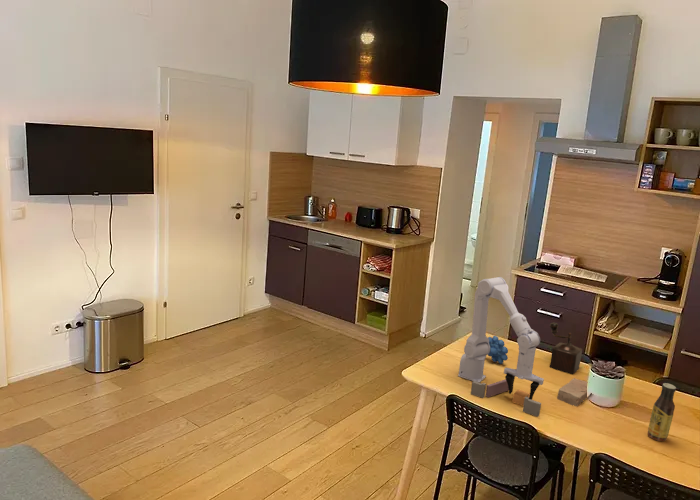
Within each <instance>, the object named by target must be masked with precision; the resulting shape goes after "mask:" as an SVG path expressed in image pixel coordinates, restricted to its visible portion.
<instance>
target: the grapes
mask: <svg viewBox="0 0 700 500" xmlns="http://www.w3.org/2000/svg"><path fill="white" fill-rule="evenodd" d="M487 338H488V339H489V345H490V352H489V354H487V355H486V356H488V357H491V361H492V362H493V363H498V364H499V365H502V364H504V361H508V359H509V358H508V355H507V354H508V352H509V349H508V347H507V346H505V341H504V340H503V339H499V337H498V336H497V335H493V336H487Z"/></svg>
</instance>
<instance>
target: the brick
mask: <svg viewBox="0 0 700 500" xmlns="http://www.w3.org/2000/svg"><path fill="white" fill-rule="evenodd" d="M587 383H588V381H585V380H581V379H578V378H576V377H574V378H572V379H571V380H570V381H569V382H567V383H566V384H564V385H563V386H561V387H560V388H559V389H558V392H557V396H556V398H557V400H559V401H561V402H563V401H564V403H566V404H568V405H571V406H573V405H574V406H573V407H579V406H580V405H581V402H582V403H583V402H584V401H586V400H587V399H588V398H587ZM586 398H587V399H586ZM583 400H584V401H583Z"/></svg>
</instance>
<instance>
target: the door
mask: <svg viewBox="0 0 700 500" xmlns="http://www.w3.org/2000/svg"><path fill="white" fill-rule="evenodd" d="M507 391H508V392H509V388H508V384H507V381H506V379H502V380H499V381H495V382H492V383H490V384H486V389H485V397H486V398H491V397H493V396H497V395H499V394H502V393H505V392H507Z"/></svg>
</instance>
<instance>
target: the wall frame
mask: <svg viewBox="0 0 700 500" xmlns="http://www.w3.org/2000/svg"><path fill="white" fill-rule="evenodd" d="M486 389H487V383H485V382H482V383H481V382H480V383H479V382H476V381H472V382H471V388H470V395H472V396H475V397H479V398H482V399H484V398H485V397H486ZM541 408H542V402H539V401H537V400H533V399H532V400H531V399H529V397H525V399H524V405H522V412H523V413H525V414H528V415H531V416H534V417H538V418H539V417H540V414H541V413H540V412H541Z"/></svg>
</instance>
